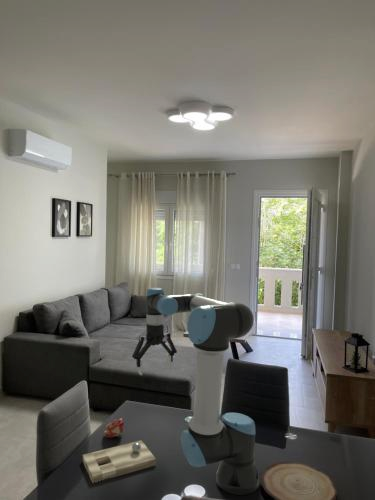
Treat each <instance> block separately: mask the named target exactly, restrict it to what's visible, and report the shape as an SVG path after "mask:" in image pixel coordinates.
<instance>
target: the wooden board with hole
mask: <svg viewBox="0 0 375 500" xmlns="http://www.w3.org/2000/svg"><path fill="white" fill-rule="evenodd" d="M134 443H139V444H140V445H141V450H140V451H139V452H138V453H134V452H133V451H132V446H133V444H134ZM82 463H83V465H84V467H85V470H86V472H87V474H88V476H89V478H90V481H91V483H92V484H95V483H98V481H99V482H101V480H102V481H106V480H109V479H112V478H117V477H120V476H123V475H126V474H131V473H134V472H138V471H140V470H145V469H147V468H151V467H154V466H155V467H156V465H157V458H156V457H155V456H154V454H153V453H152V452H151V451H150V450H149V448H148V446H146V443H144V442H143V440H142V439H141V440H137V441H132V442H128V443H125V444H121V445H117V446H112V447H108V448H105V449H101V450H97V451H92V452H89V453H88V452H87V453H84V454H82ZM108 478H109V479H108ZM105 479H106V480H105ZM94 482H95V483H94Z"/></svg>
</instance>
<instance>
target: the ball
mask: <svg viewBox="0 0 375 500" xmlns="http://www.w3.org/2000/svg"><path fill="white" fill-rule="evenodd" d="M140 450H141V445H140V444H139V443H134V444H133V446H132V451H133V452H134V453H138V452H139V451H140Z"/></svg>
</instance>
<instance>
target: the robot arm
mask: <svg viewBox="0 0 375 500" xmlns="http://www.w3.org/2000/svg"><path fill="white" fill-rule="evenodd" d="M145 298H146V331H145V333H146V335H144V336H143V335H139V338H138V343H137V344H136V347H135V349H134V351H133V353H132V355H131V358H132V359H134V360H135V361H136V364H135V365H136V367H137V368H138V370H137V373H138V374H139V376H143V359H142V358H143V357H144V355H145V354H146V352H147V351H148V349H149V348H150V347H151V346H153V347H154V346H159V345H161V346H162V348H163V349H164V350H165V351H166V353H167V354H166V369H167V370H168V371H172V363H173V361H174V355H175V354H177V352H178V350H177V348H176V347H175V345H174V343H173V340H172V337H171V333H170V332H166V333H164V331H165V326H164V325H165V324H164V322H165V319H164V317H165V316H173V315H174V314H179V313H180V314H181V313H182V314H183V313H189V316H188V319H187V323H186V330H187V336H188V339H189V341H190V342H191V343H192V346H193V347H194V348H195V349H196V351H197V355H196V356H197V357H196V371H195V388H194V389H195V390H194V402H193V403H194V404H193V416H192V417H191V418H190V419H189V421H188V426H187V427H188V428H187V429H184V430H183V431H182V432H181V434H180V444H181V448H182V451H183V454H184V457H185V458H186V461H187V462H188V463H189V465H190V466H192V467H193V468H199V467H200V468H201V467H206V466H207V465H211V464H215V463H218V462H219V465H218V468H217V471H216V475H215V476H216V477H215V480H216V481H215V482H216V484H217V486H218V487H219V488H220V489H221V490H223V492H226V493H229V494H232V495H237V496H244V495H245V496H246V495H249V494H252V493H254V492H256V491H257V490H258V489H259V486H260V474H259V470H258V467H257V465H256V462H255V458H256V455H255V451H256V435H257V434H256V424H255V421H254V419H252V418H251V417H250V416H248V415H246V414H243V413H240V412H239V413H238V412H226V413H224V414H223V415H222V417H221V419H220V412H221V411H220V409H221V396H222V384H223V383H222V381H223V367H224V354H225V352H226V351H228V350H229V346H230V340H237V339H240V338H243V337H245V336H246V335H248V334H249V333H250V331H251V330H252V329H253V327H254V321H255V318H254V314H253V312H252V310H251V308H250V307H249V306H247V305H246V304H244V303H240V302H235V301H232V302H229V303H228V302H225V301H220V300H216V299H213V298H209V297H206V296H205V294H203V293H195V292H194V293H188V294H187V293H185V294H171V295H170V294H169V295H168V294H167V295H165V290H164V288H161V287H149V288H148V289H147V290H146V295H145ZM164 339H166V341H167V343H168V345H169V347H170V348H169V347H168V345H167V343H165V342H164V341H163V340H164ZM144 342H145V343H144ZM143 344H144V345H143Z"/></svg>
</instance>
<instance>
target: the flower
mask: <svg viewBox="0 0 375 500" xmlns="http://www.w3.org/2000/svg"><path fill="white" fill-rule="evenodd" d="M124 424H125V422H124V421H123V418H122V417H120V418H119V419H117V418H115V419H114V420H112V421H111V422H109V423H108V424H107V425H106V426H105V428H107V429H105V430H104V432H103V433H104V435H105V437H106V438H108V439H109V438H111V439H113V438H114V437H119V439H121V438H123V437H122V436H121V434H122V433H123V432H124V430H125V428H124Z"/></svg>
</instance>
